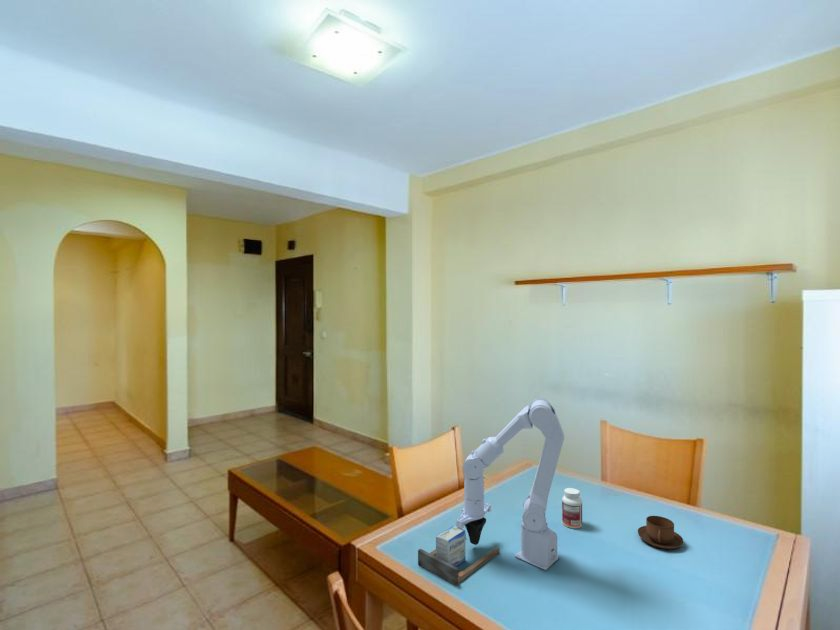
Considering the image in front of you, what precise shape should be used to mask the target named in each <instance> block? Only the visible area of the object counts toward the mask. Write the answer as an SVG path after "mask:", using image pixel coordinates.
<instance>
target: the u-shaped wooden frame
mask: <svg viewBox="0 0 840 630" xmlns="http://www.w3.org/2000/svg"><path fill="white" fill-rule="evenodd" d="M466 537H467V534H466V533H465V539H466ZM498 554H500V548H499V547H496V546H495V547H493V548H492V549H491V550H489V552H487V553H485V554H483V556H481V557H480V558H479V559H477V560H476V561H475V562H474V563H472V564H470V565H469V566H468V567H466V568H465V569H463V570H461V571H460V572H459V568H458V566H457V567H455V566H453V565H451V564H449V563H447V562H445V561H443V560H441V559H440V558H438V557H436V548H435V549H434V550H432V551H431V552H428V551H426V550H424V549H422V548H420V549H418V550H417V565H418V566H420V567H421V568H424V569H426V570H427V571H429V572H431V573H432V574H434V575H436V576H438V577H440V578H442V579H444V580H445V581H447V582H449V583H450V584H452V585H454V586H457V585H459V584H460V583H461V582H462V581H464V580H465V579H467V578H468V577H469V576H470V575H472V574H473V573H474V572H476V571H477V570H479V569H480V568H481V567H482V566H484V565H485V564H487V563H488V562H489V561H490V560H492V559H493V558H495V557H496V556H497V555H498Z"/></svg>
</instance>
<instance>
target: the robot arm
mask: <svg viewBox="0 0 840 630" xmlns="http://www.w3.org/2000/svg"><path fill="white" fill-rule="evenodd" d="M533 426H534V427H536V428H537V429H538V430H539V431H540V432H541V433H542V435H543V437H545V438H544V442H543V446H542V449H541V453H540V457H539V462H538V464H537V468H536V471H535V476H534V479H533V483H532V487H531V489H530V491H529V494H528V496H527V497H526V498H525V499H523V504H522V507H523V510H522V511H523V513H522V519H521V523H520V526H521V527H520V528H521V529H520V538H521V539H520V540H521V541H520V543H521V544H520V546H521V547H520V549H521V550H519V551H518V552H517V553H515V555H514V556H515V558H517V559H519V560H522V561H523V562H526V563H529V564H531V565H533V566H535V567H537V568H540V569H542V570H545V571H546V570H548V569H549V568H551V566H552V565H553V564H554V563H555V562H556V561H557V560H559V559H560V558H559V556H558V534H557V533H556V532H555V531H553V530H552V529H551V528H550V527H549V526H548V522H547V517H546V510H547V505H548V498H549V494H550V490H551V488H552V484H553V480H554V476H555V472H556V471H557V470H556V469H557V465H558V462H559V458H560V455H561V451H562V448H563V443H564V440H565V433H564V431H563V428H562V424H561V423H560V420H559V418H558V414H557V412H556V409H555V408H554V407H553V405H552V404H551V403H550V402H549V401H548V400H547V399H545V398H535V399H534V400H533V401H531V402H530V405H529V404H528V405H526V406H525V407H524V408H523V409H522V410H520V411H519V412H518V413H517V414H516V415H515V416H514V417H513V418H512V419H511V420H510V421H509V423H507V425H506V426H505V427H504V428H503V429H502V430H501V431H500V432H499V433H498V434H497V435H496V436H489V437H487V438H483V439H482V440H481V444H480V445H479V446H478V447H477V448H476V449H473V450H472V451H471V452H470V454H469V455H468V456H467V457H466V459H465V460H464V463H463V466H462V473H464V482H463V483H464V484H463V487H464V490H463V493H464V498H463V499H464V501H463V502H464V504H463V505H464V506H463V507H462V508H461V511H462V513H461V514H460V516H459V517H458V518H457V519H456V520H455V521H456V522H455V523H456V524H455V526H456V527H459V528H461V529H464V528H465V529H466V531H467V534H468V538H469V541H470V544H472V545H474V546H477V545H479V542H480V539H481V535H482V531H483V528H484V526H485V525H486V523H487V518H486V517H485V515H486V514H487V512H488V513H490V512H492V504H490V503H487V502H485V488H484V487H485V481H484V469H486V468H488V467H489V466H491V465H492V464H493V463H494V462H495V461H496V460H497V459H498V458H499V457H500V456H501V455H502V454H503V453H504V445H506V444H507V443H508V442H510V440H512V439H513V438H514V437H515V436H517V434H519V432H520V431H522V430H523V429H526V430H527V429H533Z"/></svg>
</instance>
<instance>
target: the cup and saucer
mask: <svg viewBox="0 0 840 630" xmlns="http://www.w3.org/2000/svg"><path fill="white" fill-rule="evenodd" d="M645 520H646V521H645V522H646V524H645V525H643V526H640V527H639V528H638V529H637V534H638V536H639V537H640V539H642V540H643V541H644V542H645V543H647V544H649V545H651V546H653V547H656V548H660V549H667V550H672V549H674V550H675V549H678V548H680V547H682V546H683V544H684V538H683V537H682V536H681V535H680V534H679V533H678V532H676V531H675V523H674V522H673V521H672V520H671V519H668V518H667V517H663V516H661V515H660V516H659V515H649V516H647V517H646V518H645Z"/></svg>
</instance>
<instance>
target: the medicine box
mask: <svg viewBox="0 0 840 630" xmlns="http://www.w3.org/2000/svg"><path fill="white" fill-rule="evenodd" d="M465 534H466V530H465V529H464V528H462V529H461V528H459V527H457V526H456V525H453V526H450V527H449V528H448V529H445V530H444V531H442V532H441V533H438V534H437V535H436V536H435V549H436V557H438V558H440V559H441V560H443V561H445V562H447V563H449V564H451V565H453V566H455V567H457V568H458V566H460V565H461V564H463V563H464V562H465V561H466V551H467V549H466V538H465Z"/></svg>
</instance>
